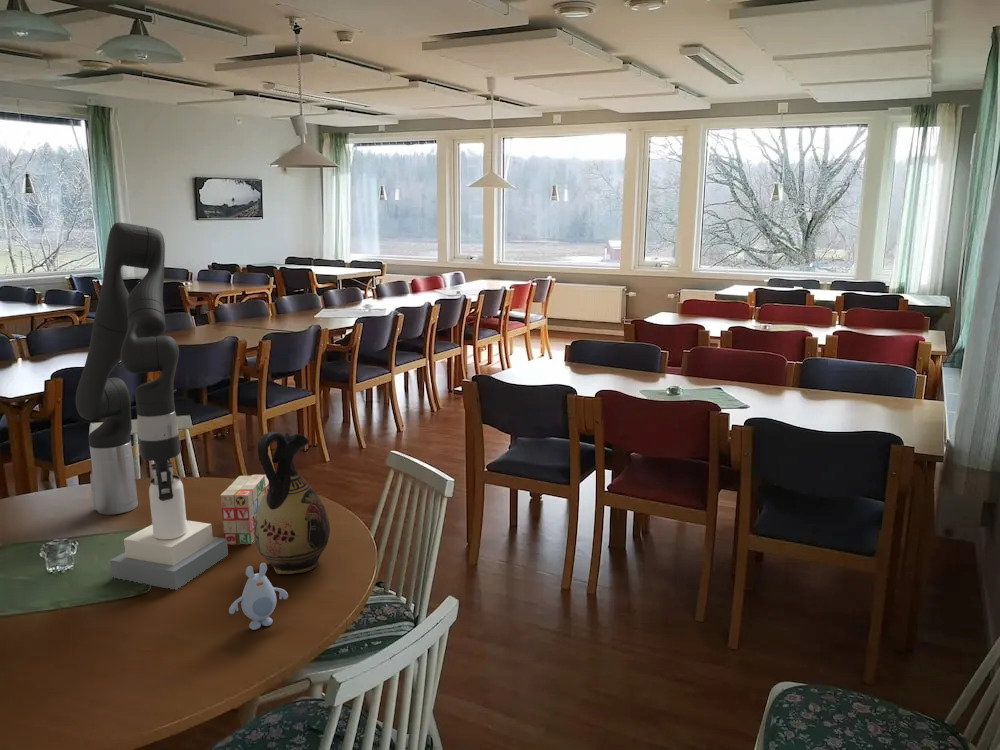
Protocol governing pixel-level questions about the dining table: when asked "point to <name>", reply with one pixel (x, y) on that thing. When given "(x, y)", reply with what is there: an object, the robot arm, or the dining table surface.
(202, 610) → the dining table surface
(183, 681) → the dining table surface
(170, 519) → the can
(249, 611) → the toy figure
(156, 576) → the tower base
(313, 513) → the ceramic jug
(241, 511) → the stack of blocks
